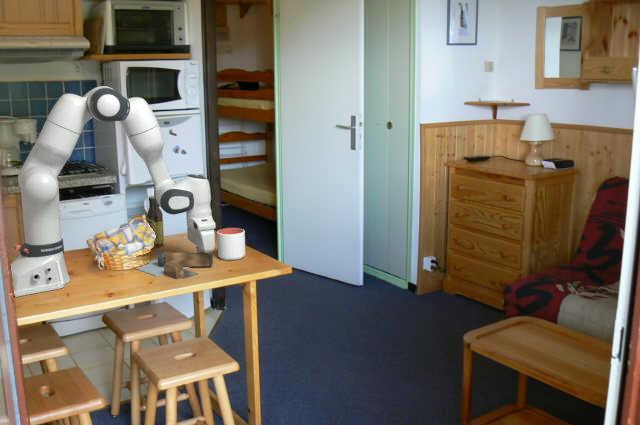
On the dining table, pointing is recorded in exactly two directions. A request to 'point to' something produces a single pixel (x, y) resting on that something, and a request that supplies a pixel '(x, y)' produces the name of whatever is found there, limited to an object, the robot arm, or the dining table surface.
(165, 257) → the leg
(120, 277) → the dining table surface
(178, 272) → the stop block
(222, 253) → the cup
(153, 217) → the sauce bottle
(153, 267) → the blue-grey square mat
